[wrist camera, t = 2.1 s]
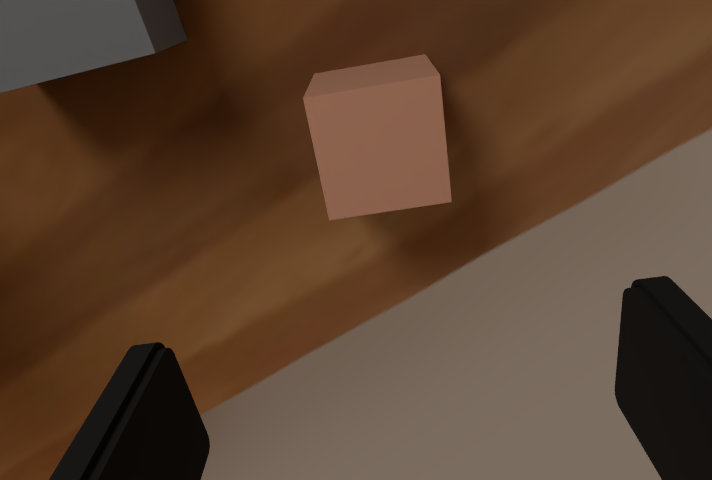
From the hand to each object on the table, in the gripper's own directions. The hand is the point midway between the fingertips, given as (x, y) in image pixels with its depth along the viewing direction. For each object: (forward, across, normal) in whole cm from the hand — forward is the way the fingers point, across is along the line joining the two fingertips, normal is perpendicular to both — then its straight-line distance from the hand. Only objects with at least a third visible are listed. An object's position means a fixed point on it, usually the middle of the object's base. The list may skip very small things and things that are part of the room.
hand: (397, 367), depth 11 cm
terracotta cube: (+21, 0, 0) cm, 21 cm away
